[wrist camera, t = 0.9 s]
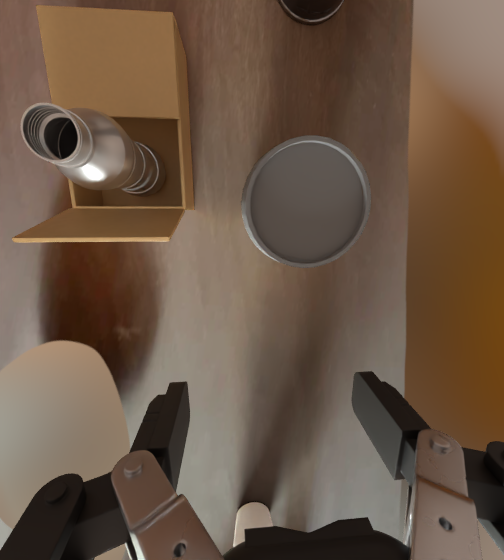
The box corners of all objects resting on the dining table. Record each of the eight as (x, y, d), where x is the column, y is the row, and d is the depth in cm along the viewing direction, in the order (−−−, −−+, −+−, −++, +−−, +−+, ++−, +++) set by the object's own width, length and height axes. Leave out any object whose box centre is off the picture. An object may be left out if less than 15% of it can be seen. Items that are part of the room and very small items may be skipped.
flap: (184, 208, 31) (184, 211, 31) (69, 208, 30) (70, 211, 30) (168, 236, 23) (169, 241, 23) (11, 237, 22) (13, 242, 22)
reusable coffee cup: (325, 243, 42) (375, 260, 27) (244, 255, 41) (252, 279, 27) (319, 155, 38) (372, 122, 24) (231, 167, 38) (232, 141, 23)
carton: (194, 209, 39) (185, 209, 31) (102, 209, 38) (68, 209, 30) (186, 56, 34) (173, 11, 26) (81, 52, 33) (34, 3, 25)
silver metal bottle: (127, 137, 36) (6, 53, 16) (176, 161, 37) (116, 108, 18) (112, 184, 37) (-17, 157, 18) (160, 205, 38) (88, 202, 19)
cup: (278, 524, 56) (291, 606, 44) (236, 534, 56) (237, 619, 44) (270, 492, 54) (281, 570, 42) (226, 502, 53) (224, 584, 42)
